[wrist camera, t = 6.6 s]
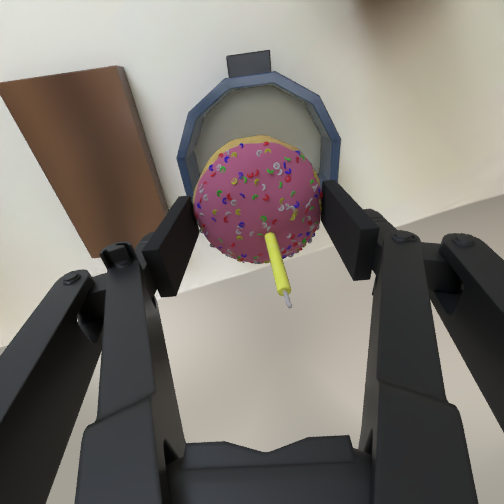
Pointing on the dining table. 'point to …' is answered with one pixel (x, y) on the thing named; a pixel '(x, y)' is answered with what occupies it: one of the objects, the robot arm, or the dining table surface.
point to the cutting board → (91, 152)
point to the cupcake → (259, 203)
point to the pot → (246, 76)
